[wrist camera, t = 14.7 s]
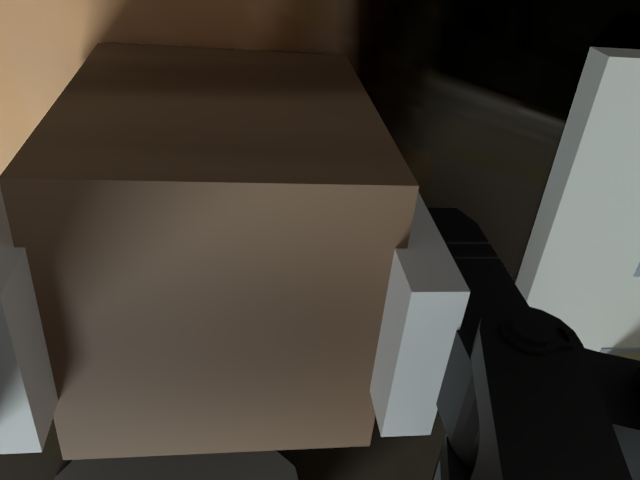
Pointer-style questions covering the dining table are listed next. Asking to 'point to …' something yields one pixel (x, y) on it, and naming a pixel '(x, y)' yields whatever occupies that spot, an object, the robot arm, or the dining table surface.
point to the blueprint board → (593, 211)
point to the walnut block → (210, 249)
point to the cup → (184, 467)
